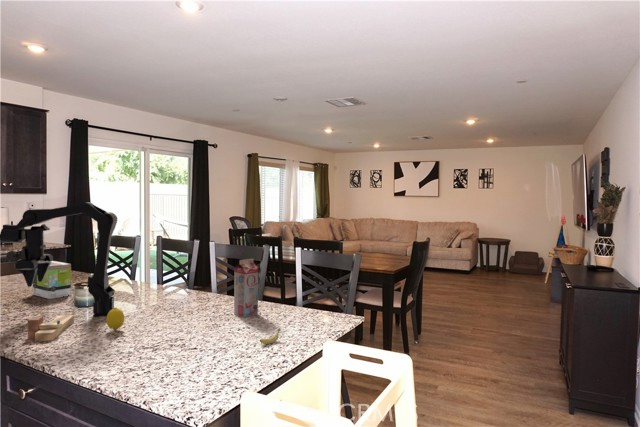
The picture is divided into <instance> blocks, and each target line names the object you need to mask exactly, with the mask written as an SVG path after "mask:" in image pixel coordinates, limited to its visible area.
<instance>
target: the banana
mask: <svg viewBox="0 0 640 427" xmlns="http://www.w3.org/2000/svg"><path fill="white" fill-rule="evenodd" d="M280 332H281V328H280V327H279V328H278V330H277V333H275V334H274V335H273V336H271V337H269V338H261V339H259V342H260V343H261V344H263V345H269V344H272V343H276V342H277V340H278V339H279V337H280V336H279V333H280Z"/></svg>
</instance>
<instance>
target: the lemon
mask: <svg viewBox="0 0 640 427" xmlns="http://www.w3.org/2000/svg"><path fill="white" fill-rule="evenodd" d="M124 322H125V314H124V311H122V310H121V309H120V308H117V307H114V309H112V310H110V311H109V313H108V315H107V316H106V324H107V327H108V328H109V329H112V330H113V331H117V330H119V329H120V328H122V326H123V325H124Z"/></svg>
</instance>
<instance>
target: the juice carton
mask: <svg viewBox="0 0 640 427" xmlns="http://www.w3.org/2000/svg"><path fill="white" fill-rule="evenodd" d="M254 261H255V260H254V258H246V259H239V263H238V264H237V265H236V266H234V272H233V273H234V276H233V277H234V282H233V283H234V285H233V287H234V289H233V290H234V291H233V292H234V293H233V295H234V296H233V300H234V301H233V315H236V316H239V317H241V318H248V317H253V316H256V315H259V266H257V264H256V263H255V262H254Z"/></svg>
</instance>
